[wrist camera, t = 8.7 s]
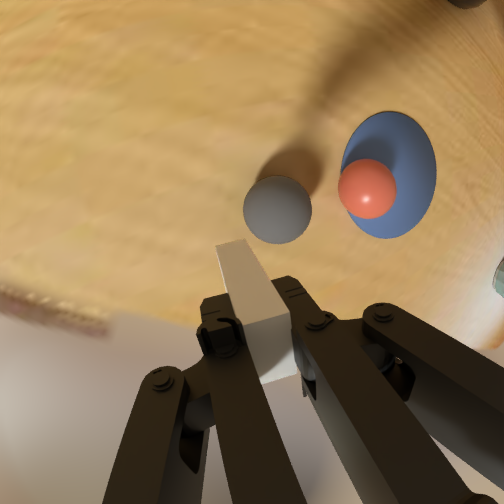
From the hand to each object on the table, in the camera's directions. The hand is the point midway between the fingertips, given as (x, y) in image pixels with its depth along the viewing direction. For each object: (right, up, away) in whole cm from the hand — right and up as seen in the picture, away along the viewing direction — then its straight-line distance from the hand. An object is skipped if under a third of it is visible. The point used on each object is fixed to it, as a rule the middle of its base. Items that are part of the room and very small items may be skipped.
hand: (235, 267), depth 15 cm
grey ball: (+3, +4, +9) cm, 10 cm away
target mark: (+16, +9, +14) cm, 23 cm away
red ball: (+11, +6, +10) cm, 17 cm away
